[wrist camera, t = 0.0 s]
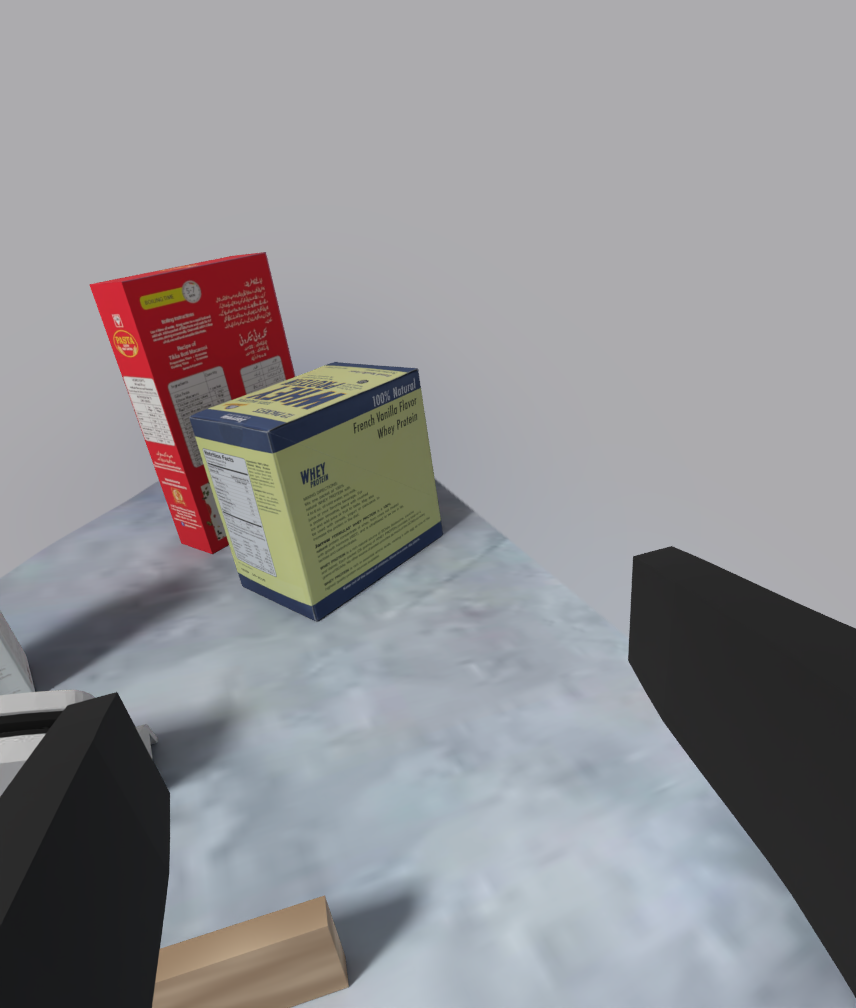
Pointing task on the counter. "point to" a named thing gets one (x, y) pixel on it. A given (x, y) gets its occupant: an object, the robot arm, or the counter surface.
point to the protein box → (322, 482)
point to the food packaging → (193, 365)
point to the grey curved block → (37, 726)
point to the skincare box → (13, 663)
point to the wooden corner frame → (256, 962)
